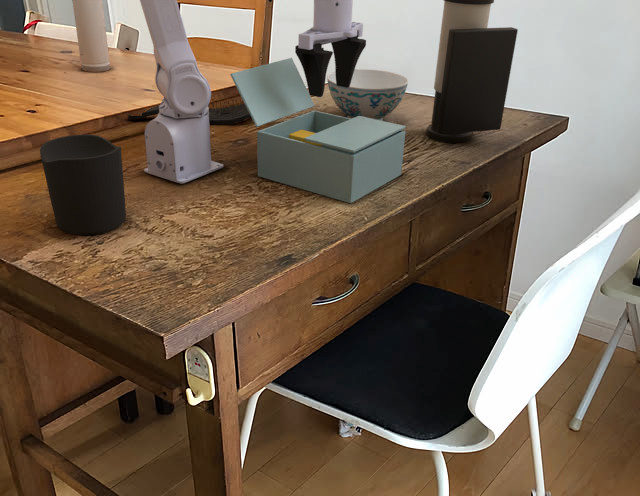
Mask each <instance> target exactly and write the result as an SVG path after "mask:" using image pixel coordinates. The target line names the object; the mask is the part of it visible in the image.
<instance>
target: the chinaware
mask: <svg viewBox="0 0 640 496" xmlns="http://www.w3.org/2000/svg"><path fill="white" fill-rule="evenodd" d="M326 77H327V78H326V80H327V86H328V90H329V93H330V97H331V98H332V101H333V103H334V104H335V105H336V106H337V108H338V109H339V111H341V112H342V113H343V114H344V115H346V118H350V119H352V118H355V117H357V116H363V117H367V118H372V119H376V120H381V121H384V120H383V119H384V117H386V116H388V115H389V114H391V113H392V112H393V111H394V110H395V109H396V108H397V107H398V106H399V105H400V103H401V102H402V100H403V98H404V96H405V94H406V91H407V88H408V85H409V80H408V78H407V77H405V76H404V75H401V74H399V73H395V72H390V71H387V70H379V69H369V68H367V69H366V68H355V70H354V73H353V77H352V80H351V83H350V86H349V87H348V88H346V87H341V86H337V84H336V74H335V71H332V72H331V73H329V74H328V75H327V76H326Z"/></svg>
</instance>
